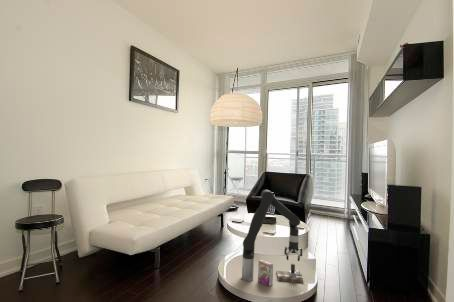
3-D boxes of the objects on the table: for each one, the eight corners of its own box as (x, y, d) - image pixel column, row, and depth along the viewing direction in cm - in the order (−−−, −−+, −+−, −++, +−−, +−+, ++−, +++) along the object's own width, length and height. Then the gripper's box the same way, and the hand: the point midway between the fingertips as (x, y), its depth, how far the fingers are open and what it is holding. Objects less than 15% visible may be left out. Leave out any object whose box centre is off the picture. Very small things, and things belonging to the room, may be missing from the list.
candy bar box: (257, 281, 189) (258, 260, 190) (261, 279, 192) (262, 259, 194) (269, 287, 181) (269, 265, 182) (272, 285, 184) (273, 263, 186)
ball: (299, 270, 198) (300, 275, 198) (298, 268, 202) (299, 273, 202) (294, 272, 198) (296, 277, 198) (293, 270, 202) (295, 275, 202)
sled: (289, 278, 192) (290, 265, 193) (287, 272, 203) (288, 259, 204) (296, 279, 191) (296, 265, 192) (293, 273, 203) (293, 260, 203)
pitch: (278, 281, 192) (278, 275, 192) (276, 272, 207) (276, 267, 208) (303, 283, 190) (303, 277, 190) (299, 274, 205) (299, 269, 206)
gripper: (285, 241, 193) (284, 261, 192) (303, 242, 191) (302, 263, 190) (284, 238, 200) (283, 257, 199) (301, 239, 199) (300, 259, 198)
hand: (292, 260), depth 195 cm, fingers open, 8 cm apart
